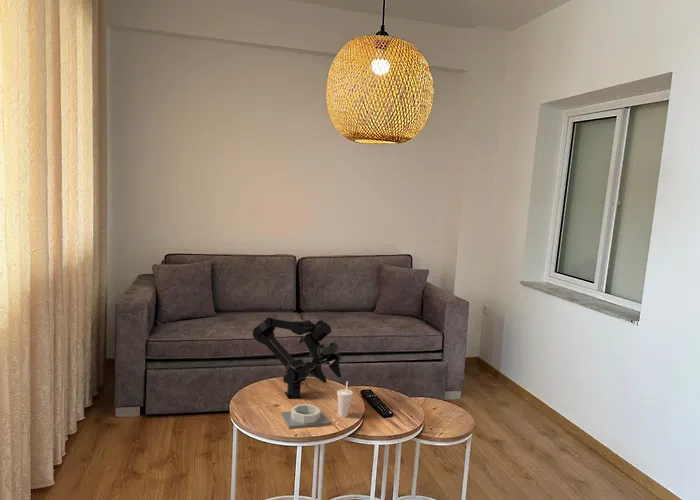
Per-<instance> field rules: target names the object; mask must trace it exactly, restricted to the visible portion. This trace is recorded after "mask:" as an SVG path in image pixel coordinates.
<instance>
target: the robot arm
mask: <svg viewBox="0 0 700 500" xmlns="http://www.w3.org/2000/svg"><path fill="white" fill-rule="evenodd" d="M276 328H278V329H279V328H280V329H284V330H287V331H288V330H289V331H290V332H292V333H293V334H295V335H296V336H301V337H300V340H299V341H298V343H299V344H304V345H305V347H306V349H307V350H308V353H307V354H308V356H309V357H310V356H311V357H312V359H309V360H308V361H307V362H306V363H305V362H304V361H303V360H302V358H299V359H295V358H294V357H293V356H292V355H291V354H290V353H289V352H288V350H286V348H285V347H284V346H283V345H282V344H281V343H280V342H279V341H278V340H277V339H276V336H275V332H274V331H275V330H276ZM331 333H332V328H331V326H330V325H329V324H328V323H327V322H325V321H324V320H323V319H319V320H318V321H317V322H316V324H315V323H313V322H312V321H311V320H310V319H297V320H296V319H291V318H285V317H279V316H275V315H273V316H267V317H266V318H265V319H264V321H262V322H261V323H259V324H258V325H257V326H256V327H254V328H253V330H252V337H253V339H255V340H256V342H258V343H260V344H261V345H264V346H266V347H267V348H268V349H269V350H270V352H271V353H272V354H273V355H274V356H275V357H276V358H277V359H278V360H279V361H280V363H281V364H282V365H283V367H284V368H285V372H286V373H285V374H286V375H284V376H283V377H282V378H283V383H285V384H286V386H287V388H286V391H284V395H285V396H286V398H287V399H289V400H290V399H298V398H299V399H301V398H303V397H304V396H303V394H302V393H301V391H302V382H305V381H306V379H307V377H308V376H309V375H312V377H313V376H314V377H315V378H316V379H317V380H319V381H321V382H322V383H324V384H327V382H328V381H327V378H326V377H325V374H324V373H323V370H322V365H324V364H327V365H328V368H329V369H330V370H331V371H332V372H333V374H335V376H337V378H338V379H340V378H342V374H341V369H340V360H341V359H342V357H343V355H342V353H341V352H340V351H338V349H339V347H338V344H337V343H336V341H334V342H330V343H329V345H328V346H326V345H325V344H324V343H321V342H322V341H323V340H324V339H326V337H328V336H329V335H330V334H331ZM302 335H304V336H302Z"/></svg>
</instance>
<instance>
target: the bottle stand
mask: <svg viewBox="0 0 700 500" xmlns="http://www.w3.org/2000/svg"><path fill="white" fill-rule="evenodd" d="M290 409H291V410H290V411H285V412H283V411H282V412H280V416H281V418H282V419H283V420H284V423H285V424H286V426H287V428H288V429H300V428H308V427H309V428H310V427H311V428H312V427H322V425H323V426H329V425H328V424H330V425H331V421H330V420H329V419H328V417H327V416H326V415H325V414H324V412H323V411H322V410H321V409H320V408H319V407H318V406H317V405H312V404H309V403H304V404H302V403H301V404H296V405H295V406H292V407H291V408H290Z"/></svg>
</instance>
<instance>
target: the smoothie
mask: <svg viewBox="0 0 700 500" xmlns="http://www.w3.org/2000/svg"><path fill="white" fill-rule="evenodd" d="M348 386H349V381H348V380H347V381H346V384H345V388H340V389H338V390H337V391H336V395H337V409H338V410H337V412H338V414H339V415H340V416H347V415H348V416H349V412H350V407H351V402H352V397H353V395H354V392H353V391H352V390H351V389H348ZM339 415H338V416H339ZM340 416H339V417H340ZM348 416H347V417H348Z"/></svg>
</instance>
